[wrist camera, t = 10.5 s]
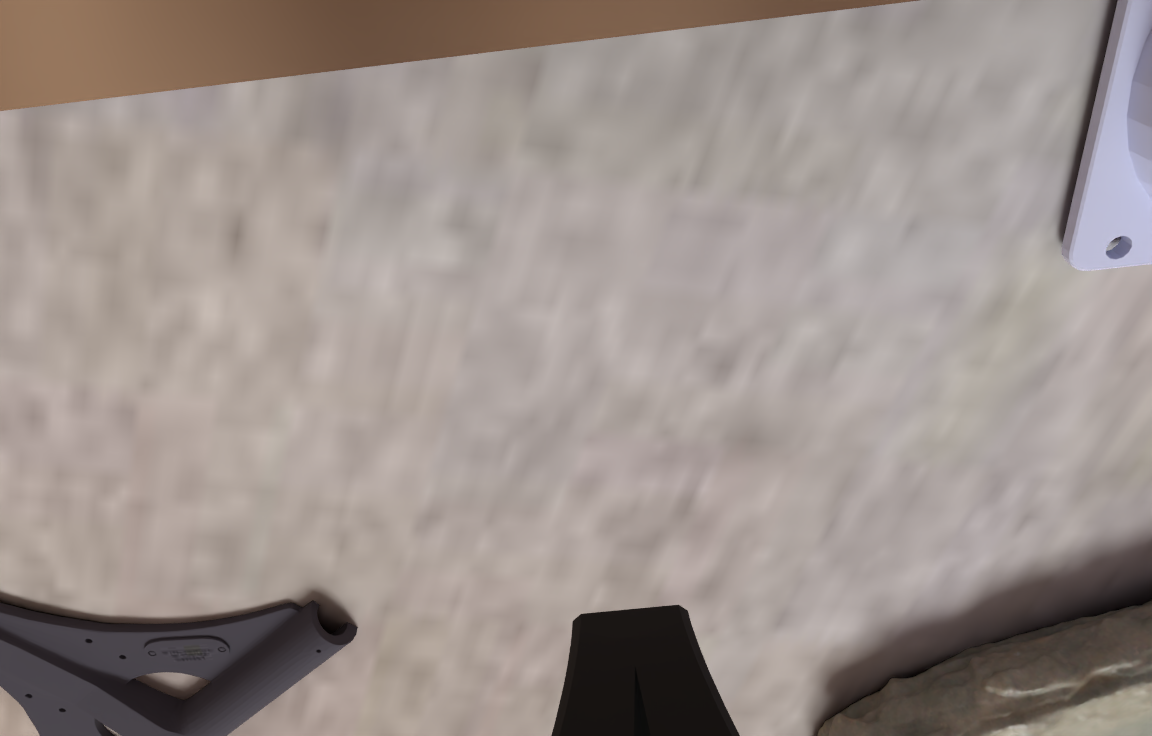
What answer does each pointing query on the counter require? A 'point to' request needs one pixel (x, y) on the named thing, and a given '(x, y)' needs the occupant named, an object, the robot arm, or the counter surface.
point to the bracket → (157, 669)
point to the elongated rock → (1024, 686)
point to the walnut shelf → (307, 36)
